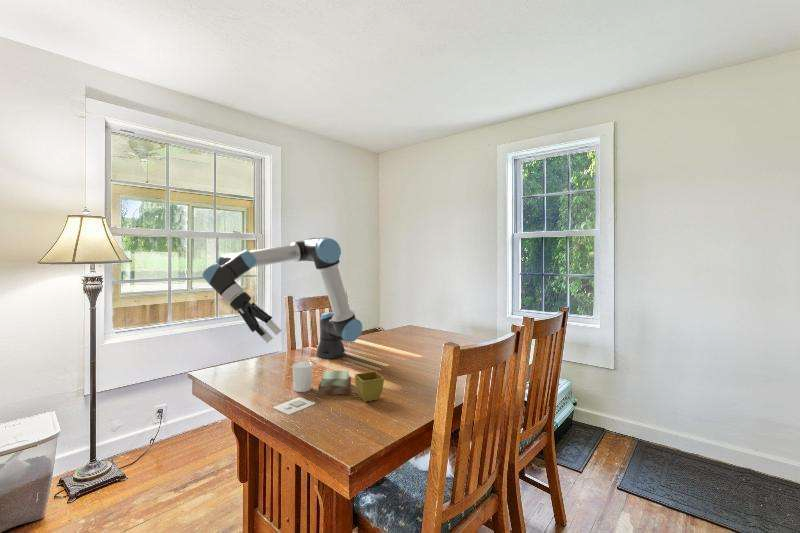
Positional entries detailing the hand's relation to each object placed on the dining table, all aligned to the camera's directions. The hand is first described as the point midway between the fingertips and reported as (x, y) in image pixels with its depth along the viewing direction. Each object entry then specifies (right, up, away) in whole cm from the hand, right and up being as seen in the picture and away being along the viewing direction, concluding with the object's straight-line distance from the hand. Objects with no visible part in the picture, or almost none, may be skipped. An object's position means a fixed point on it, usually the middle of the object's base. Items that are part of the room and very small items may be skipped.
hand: (275, 336), depth 145 cm
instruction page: (+12, -22, -14) cm, 29 cm away
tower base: (+23, -22, +3) cm, 32 cm away
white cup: (+10, -22, +2) cm, 24 cm away
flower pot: (+38, -23, -6) cm, 44 cm away
